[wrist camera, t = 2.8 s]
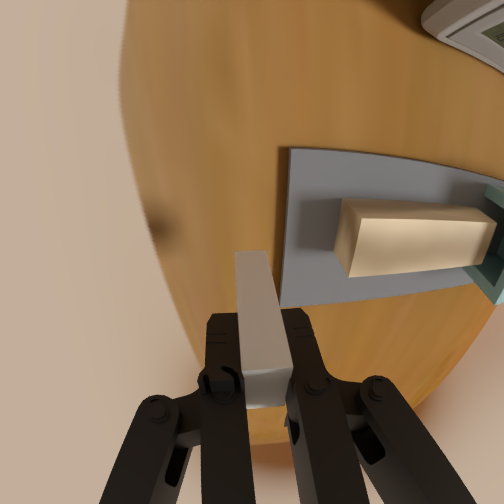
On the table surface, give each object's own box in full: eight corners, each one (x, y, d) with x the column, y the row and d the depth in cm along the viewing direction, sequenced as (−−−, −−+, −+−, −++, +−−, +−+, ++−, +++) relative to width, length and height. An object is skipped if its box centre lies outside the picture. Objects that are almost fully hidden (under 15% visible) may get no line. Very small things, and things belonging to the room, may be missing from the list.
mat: (289, 147, 15) (291, 148, 14) (520, 186, 17) (523, 188, 16) (278, 302, 21) (279, 307, 21) (488, 276, 23) (490, 279, 23)
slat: (342, 198, 16) (361, 218, 14) (475, 207, 17) (497, 223, 15) (333, 251, 18) (348, 277, 16) (462, 246, 19) (481, 264, 17)
